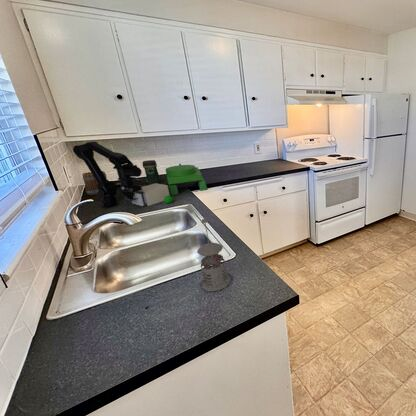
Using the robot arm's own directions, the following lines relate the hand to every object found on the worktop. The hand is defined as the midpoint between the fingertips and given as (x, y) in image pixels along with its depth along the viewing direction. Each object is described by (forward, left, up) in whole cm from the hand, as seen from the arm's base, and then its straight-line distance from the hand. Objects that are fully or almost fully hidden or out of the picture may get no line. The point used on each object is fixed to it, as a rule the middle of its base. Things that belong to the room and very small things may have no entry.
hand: (131, 200), depth 166 cm
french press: (-30, -107, -5) cm, 111 cm away
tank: (+45, +9, -5) cm, 46 cm away
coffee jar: (+40, +44, -5) cm, 60 cm away
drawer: (+7, 0, -4) cm, 8 cm away
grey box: (+13, 0, -5) cm, 14 cm away
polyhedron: (+15, -13, -5) cm, 21 cm away
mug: (+7, +57, -5) cm, 58 cm away
